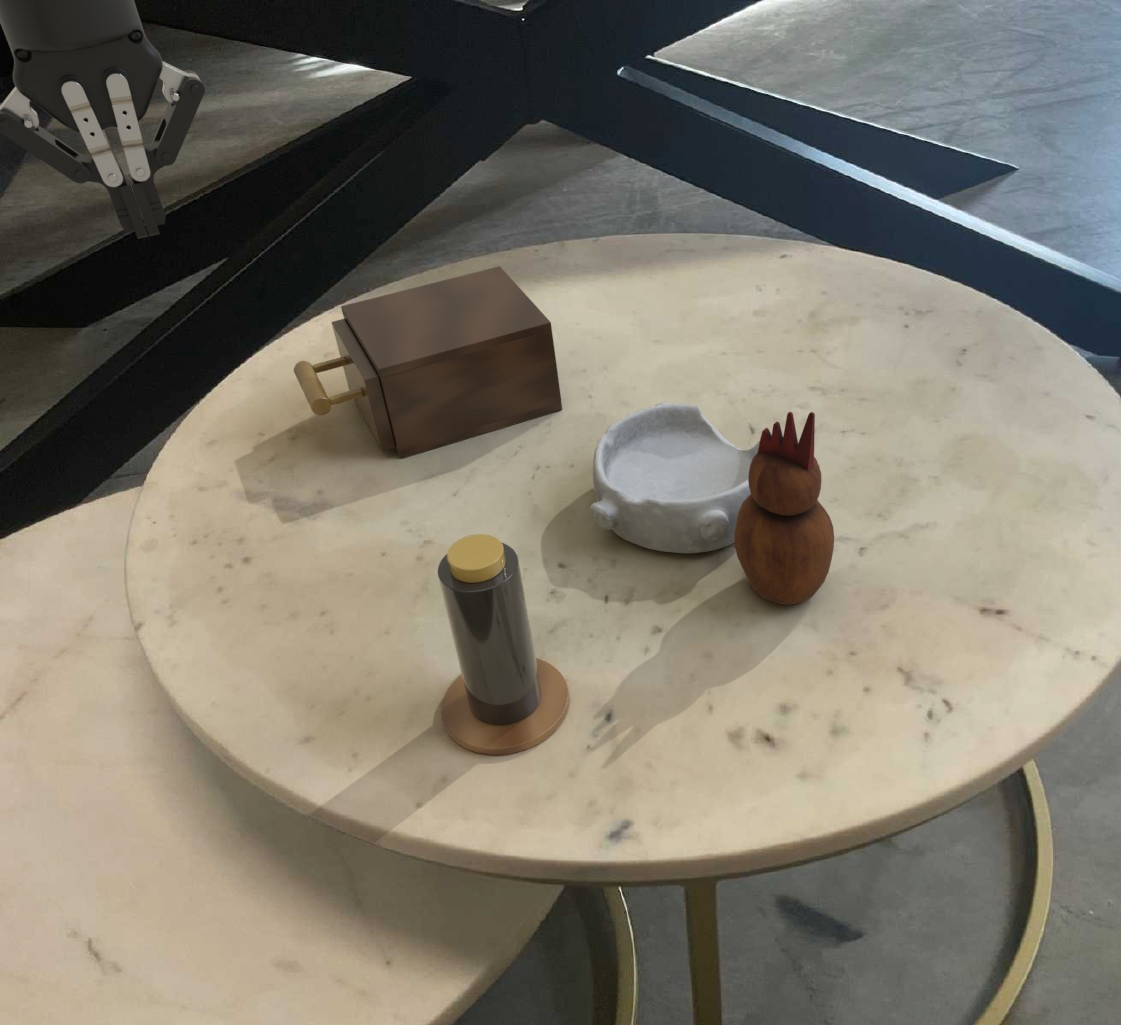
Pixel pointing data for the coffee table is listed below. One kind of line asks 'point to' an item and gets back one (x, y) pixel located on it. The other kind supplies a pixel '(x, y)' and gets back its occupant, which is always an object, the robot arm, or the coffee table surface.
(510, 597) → the cylinder
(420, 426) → the cabinet
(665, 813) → the coffee table surface
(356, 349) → the drawer
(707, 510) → the dish
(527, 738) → the coaster
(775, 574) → the wooden figurine
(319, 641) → the coffee table surface
